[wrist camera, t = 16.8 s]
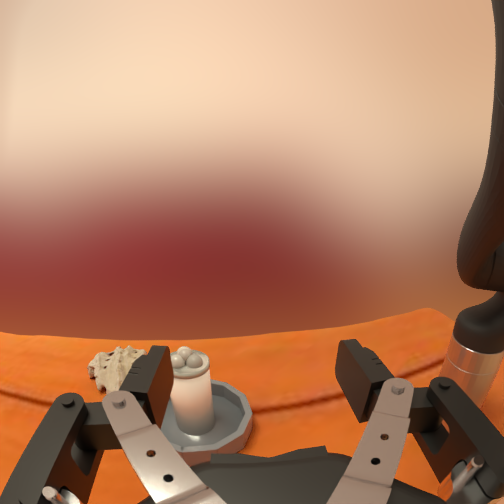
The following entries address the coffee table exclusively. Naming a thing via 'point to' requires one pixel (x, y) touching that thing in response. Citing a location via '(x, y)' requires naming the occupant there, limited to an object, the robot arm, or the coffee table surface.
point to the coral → (113, 367)
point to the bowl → (223, 433)
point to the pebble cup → (192, 392)
